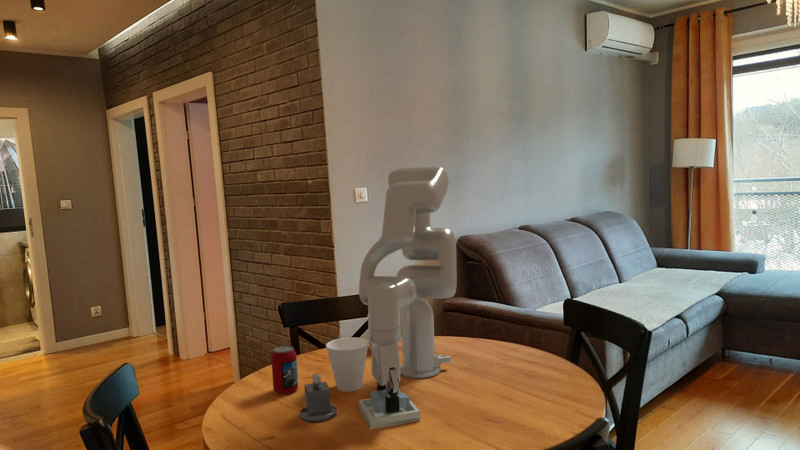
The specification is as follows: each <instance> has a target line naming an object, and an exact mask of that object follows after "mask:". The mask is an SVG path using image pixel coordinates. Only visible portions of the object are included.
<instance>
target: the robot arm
mask: <svg viewBox="0 0 800 450" xmlns="http://www.w3.org/2000/svg"><path fill="white" fill-rule="evenodd" d="M387 181H388V188H387V190H386V193H385V203H384V211H383V222H382V231H381V236H380V238H379V239H378V240H377V241H376V242H375V243H374V244H373V245H372V246H371V248H369V250H368V252H367V253H366V255H365V257H364V258H363V261H362V263H361V266H360V267H361V268H360V273H359V282H358V283H359V284H358V295H359V300H360V301H361V303H362V304H364V305H366V306H367V311H368V314H369V330H368V336H369V335H370V342H371V343H372V350H370V351H371V355H370V356H371V375H372V377H373V378H374V380H375V382H376V391H377V390H378V391H379V390H385V389H386V395H387V396H386V397H385V402H386V413H387V414H389V413H395V412H399V410H400V409H399V390H400V382H401V376H403V377H406V378H412V379H423V378H431V377H434V376H436V375H438V374H439V373H441V371H442V370H441V369H442V368H441V365H442V364H443V363H451V361H452V359H451V356H450V355H444V354H438V355H437V354H436V353H435V352H436V349H435V323H434V322H435V321H434V311H433V308H432V307H431V305H430V303H429V302H428V301H427V299H450V298H451V299H452V298H453V297H454V296H455V294H456V291H457V284H458V283H457V279H458V276H457V275H458V273H457V272H458V271H457V242H456V240H457V239H456V236H455V233H454V232H453V230H451V229H450V228H448V227H431V213H436V212H437V211H438V210H439V208H440V207H441V205H442V203H443V201H444V198H445V196H446V194H447V192H448V188H449V176H448V173H447V171H446V169H445V168H443V167H442V166H425V167H424V166H421V167H419V166H417V167H414V166H413V167H402V168H401V167H400V168H396V169H394V170H392V171H391V172H389V173H388V176H387ZM399 250H401V252H402V256H403V257H404V258H405V259H407V260H409V261H427V262H428V261H437V262H439V265H431V264H430V265H429V264H428V265H427V264H424V265H423V264H421V265H420V264H410V265H406V266H403V267H401V268H400V269H399V270H398V271H397V274H396V276H387V275H386V276H381V275H380V276H379V275H377V276H376V275H375V274H376V273H375V272H376V269H377V268H378V265H379V264H380V263H381V262H382V261H383V260H384V259H385V258H386V257H388V256H389V255H391V254H394V253H395V252H397V251H399ZM368 314H367V315H368ZM399 342H401V343H402V363H401V360H400V352H399V351H400V350H399ZM390 381H391V382H390ZM389 389H390V391H389ZM398 389H399V390H398Z"/></svg>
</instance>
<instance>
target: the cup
mask: <svg viewBox="0 0 800 450" xmlns="http://www.w3.org/2000/svg"><path fill="white" fill-rule="evenodd" d="M325 348H326V350H327V354H328V358H329V362H330V366H331V369H332V373H333V377H334V381H335V385H336V388H337V391H340V392H344V393H346V392H348V393H349V392H355V391H358V390H360V389H361V388H362V387H363V381H364V374H365V368H366V361H367V355H368V350H369V340H367V339H366V338H361V337H343V338H341V337H340V338H336V339H333V340H331V341H328V342H327V343H326V344H325Z"/></svg>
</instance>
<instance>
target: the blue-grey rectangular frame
mask: <svg viewBox="0 0 800 450" xmlns="http://www.w3.org/2000/svg"><path fill="white" fill-rule="evenodd" d="M398 390H399V408H405V407H406V403H408V402H410V400H411V399H410V396H409V395H408V394H406V395H404V394H403V393H404V392H402V390H401V389H400V388H399V389H398ZM389 391H390V389H389ZM386 396H387V395H386V389H385V390H379V391H378V390H377V389H376V390H372V391H370V398H371V402H372V404H373V405H374V407H375V408H376V410H377V411H378V412H381V411H386V402H385V397H386ZM409 399H410V400H409Z"/></svg>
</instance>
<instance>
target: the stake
mask: <svg viewBox="0 0 800 450" xmlns="http://www.w3.org/2000/svg"><path fill="white" fill-rule="evenodd" d="M311 378H312V380H311V381H312V383H309V384H304V400H305V401H304V402H305V407H303V408H302V409H300V411H299V418H300V419H301V421H303V422H305V423H310V424H311V423H315V424H316V423H323V422H327V421H330V420H332V419H334V418H335V417H336V416H337V415H338V410H337V407H336V405H334V404H332V403H331V389H330V387H329V385H328V382H327V381H322V379H321V378H322V377H321V374H320V373H313V374H312V377H311Z"/></svg>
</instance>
